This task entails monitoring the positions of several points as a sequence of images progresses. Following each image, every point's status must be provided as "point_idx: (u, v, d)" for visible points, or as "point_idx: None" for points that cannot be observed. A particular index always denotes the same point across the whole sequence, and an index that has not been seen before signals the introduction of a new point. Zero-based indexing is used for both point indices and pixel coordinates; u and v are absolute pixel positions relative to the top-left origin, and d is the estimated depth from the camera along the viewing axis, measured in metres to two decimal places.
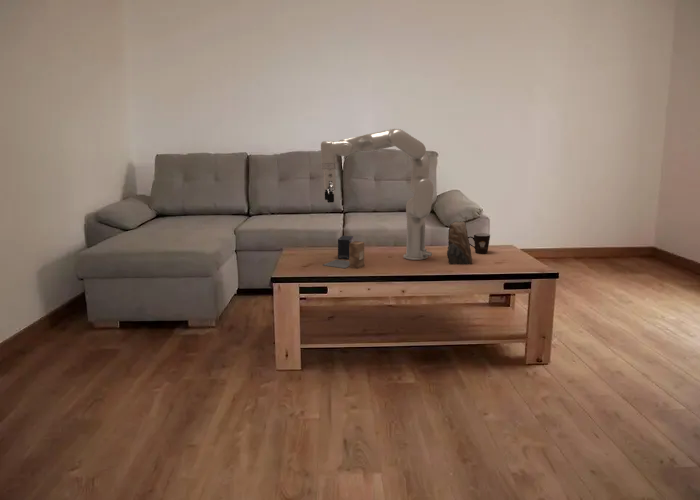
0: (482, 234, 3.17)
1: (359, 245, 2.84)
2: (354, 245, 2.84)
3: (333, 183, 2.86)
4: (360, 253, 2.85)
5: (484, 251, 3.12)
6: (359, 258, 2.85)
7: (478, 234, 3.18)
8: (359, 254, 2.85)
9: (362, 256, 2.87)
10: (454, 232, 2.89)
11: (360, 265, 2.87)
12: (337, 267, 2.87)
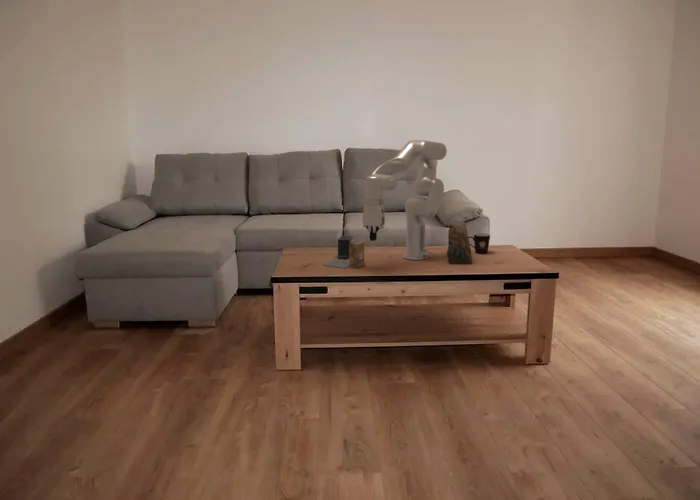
0: (482, 234, 3.17)
1: (359, 245, 2.84)
2: (354, 245, 2.84)
3: (382, 224, 2.78)
4: (360, 253, 2.85)
5: (484, 251, 3.12)
6: (359, 258, 2.85)
7: (478, 234, 3.18)
8: (359, 254, 2.85)
9: (362, 256, 2.87)
10: (454, 232, 2.89)
11: (360, 265, 2.87)
12: (337, 267, 2.87)
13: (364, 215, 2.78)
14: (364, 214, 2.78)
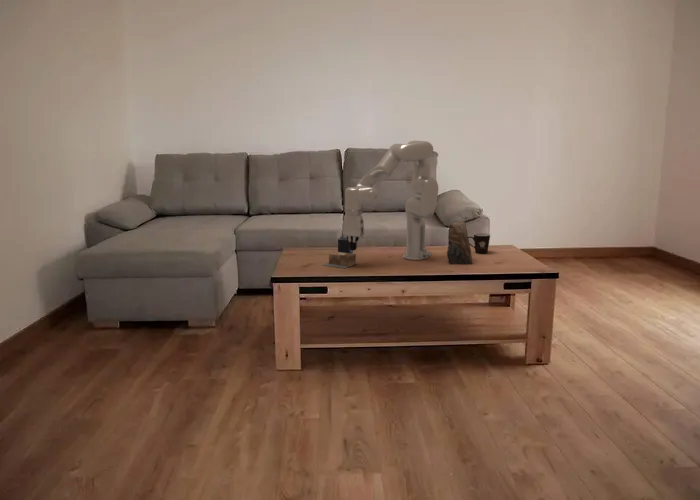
0: (482, 234, 3.17)
1: (331, 253, 2.93)
2: (330, 258, 2.93)
3: (362, 234, 2.86)
4: (339, 254, 2.92)
5: (484, 251, 3.12)
6: (342, 255, 2.90)
7: (478, 234, 3.18)
8: (338, 254, 2.91)
9: (344, 253, 2.92)
10: (454, 232, 2.89)
11: (350, 255, 2.89)
12: (337, 267, 2.87)
13: (344, 226, 2.86)
14: (344, 225, 2.86)
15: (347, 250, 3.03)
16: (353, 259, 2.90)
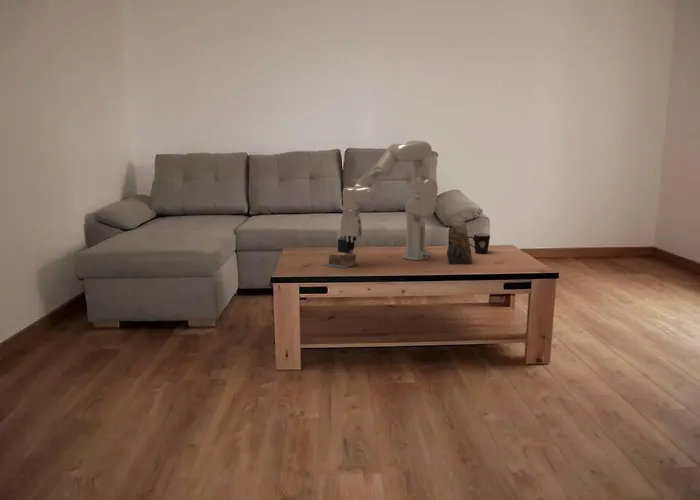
0: (482, 234, 3.17)
1: (331, 253, 2.93)
2: (330, 258, 2.93)
3: (360, 234, 2.86)
4: (339, 254, 2.92)
5: (484, 251, 3.12)
6: (342, 255, 2.90)
7: (478, 234, 3.18)
8: (338, 254, 2.91)
9: (344, 253, 2.92)
10: (454, 232, 2.89)
11: (350, 255, 2.89)
12: (337, 267, 2.87)
13: (342, 225, 2.86)
14: (342, 224, 2.86)
15: (347, 250, 3.03)
16: (353, 259, 2.90)
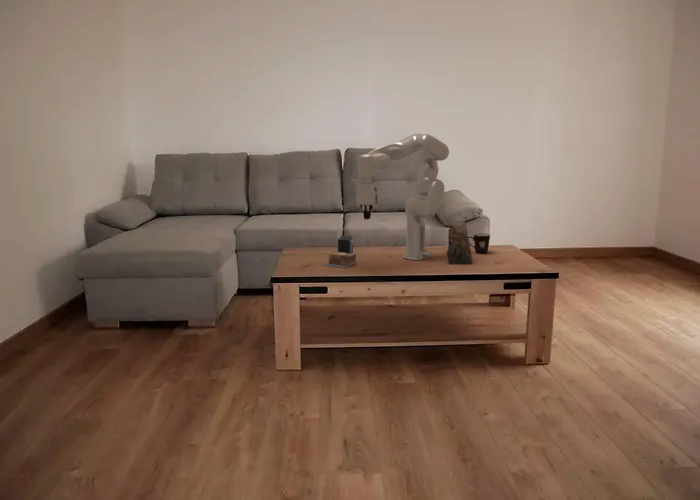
0: (482, 234, 3.17)
1: (331, 253, 2.93)
2: (330, 258, 2.93)
3: (376, 202, 2.79)
4: (339, 254, 2.92)
5: (484, 251, 3.12)
6: (342, 255, 2.90)
7: (478, 234, 3.18)
8: (338, 254, 2.91)
9: (344, 253, 2.92)
10: (454, 232, 2.89)
11: (350, 255, 2.89)
12: (337, 267, 2.87)
13: (357, 194, 2.79)
14: (357, 193, 2.78)
15: (347, 250, 3.03)
16: (353, 259, 2.90)
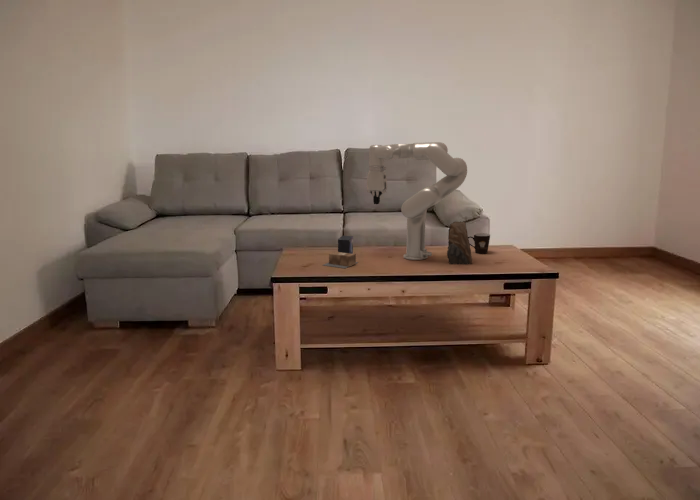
0: (482, 234, 3.17)
1: (331, 253, 2.93)
2: (330, 258, 2.93)
3: (385, 188, 3.07)
4: (339, 254, 2.92)
5: (484, 251, 3.12)
6: (342, 255, 2.90)
7: (478, 234, 3.18)
8: (338, 254, 2.91)
9: (344, 253, 2.92)
10: (454, 232, 2.89)
11: (350, 255, 2.89)
12: (337, 267, 2.87)
13: (368, 181, 3.07)
14: (368, 180, 3.07)
15: (347, 250, 3.03)
16: (353, 259, 2.90)
